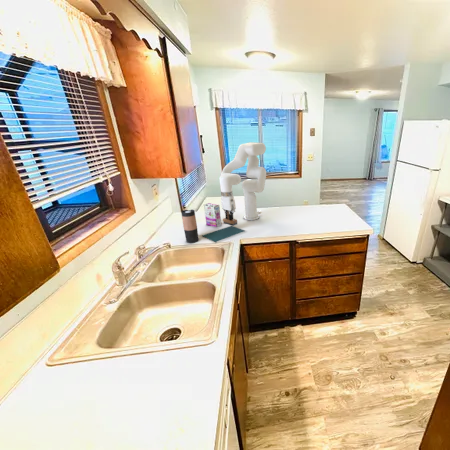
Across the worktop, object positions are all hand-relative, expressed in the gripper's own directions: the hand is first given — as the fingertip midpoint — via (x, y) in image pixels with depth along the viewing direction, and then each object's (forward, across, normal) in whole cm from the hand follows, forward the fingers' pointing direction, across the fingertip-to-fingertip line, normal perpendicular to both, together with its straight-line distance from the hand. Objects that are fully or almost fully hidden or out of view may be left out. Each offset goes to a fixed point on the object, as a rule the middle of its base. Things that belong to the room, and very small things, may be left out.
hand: (229, 218), depth 169 cm
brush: (+4, 0, 0) cm, 4 cm away
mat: (+8, -3, +8) cm, 12 cm away
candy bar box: (+9, +17, +3) cm, 19 cm away
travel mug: (+8, +3, +28) cm, 29 cm away
